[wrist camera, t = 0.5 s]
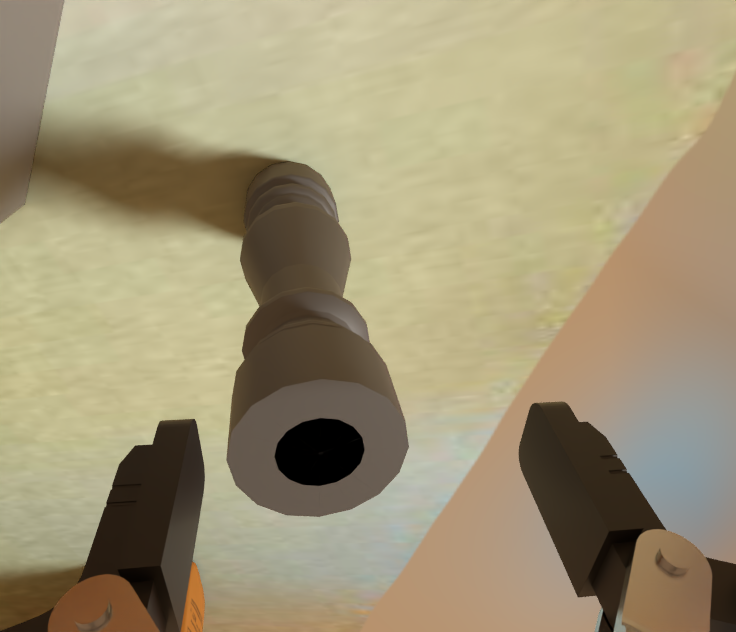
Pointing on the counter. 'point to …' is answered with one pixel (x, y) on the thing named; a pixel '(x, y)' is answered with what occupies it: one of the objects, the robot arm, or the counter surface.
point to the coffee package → (194, 603)
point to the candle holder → (307, 361)
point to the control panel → (23, 90)
